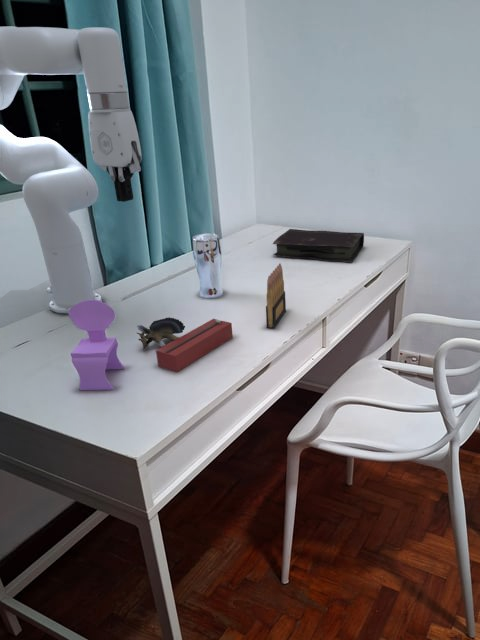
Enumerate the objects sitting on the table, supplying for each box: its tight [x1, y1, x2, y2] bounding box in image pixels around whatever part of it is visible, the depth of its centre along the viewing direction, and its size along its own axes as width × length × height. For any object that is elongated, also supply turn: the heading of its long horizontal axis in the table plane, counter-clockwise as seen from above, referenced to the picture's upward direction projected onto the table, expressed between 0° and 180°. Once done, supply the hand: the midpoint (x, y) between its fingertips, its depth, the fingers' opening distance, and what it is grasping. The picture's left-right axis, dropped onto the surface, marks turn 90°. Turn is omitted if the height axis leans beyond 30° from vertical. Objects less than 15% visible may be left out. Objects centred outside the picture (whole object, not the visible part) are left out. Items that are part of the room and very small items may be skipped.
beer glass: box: [191, 232, 224, 299], centre depth 137 cm, size 7×7×15 cm
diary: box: [272, 228, 365, 263], centre depth 170 cm, size 19×25×5 cm
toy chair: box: [68, 299, 126, 391], centre depth 99 cm, size 8×9×15 cm
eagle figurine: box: [136, 317, 186, 351], centre depth 113 cm, size 8×7×9 cm
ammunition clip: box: [265, 262, 287, 330], centre depth 123 cm, size 11×2×12 cm, turn 166°
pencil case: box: [155, 318, 234, 373], centre depth 111 cm, size 5×18×4 cm, turn 149°
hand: (125, 200), depth 115 cm, fingers closed
